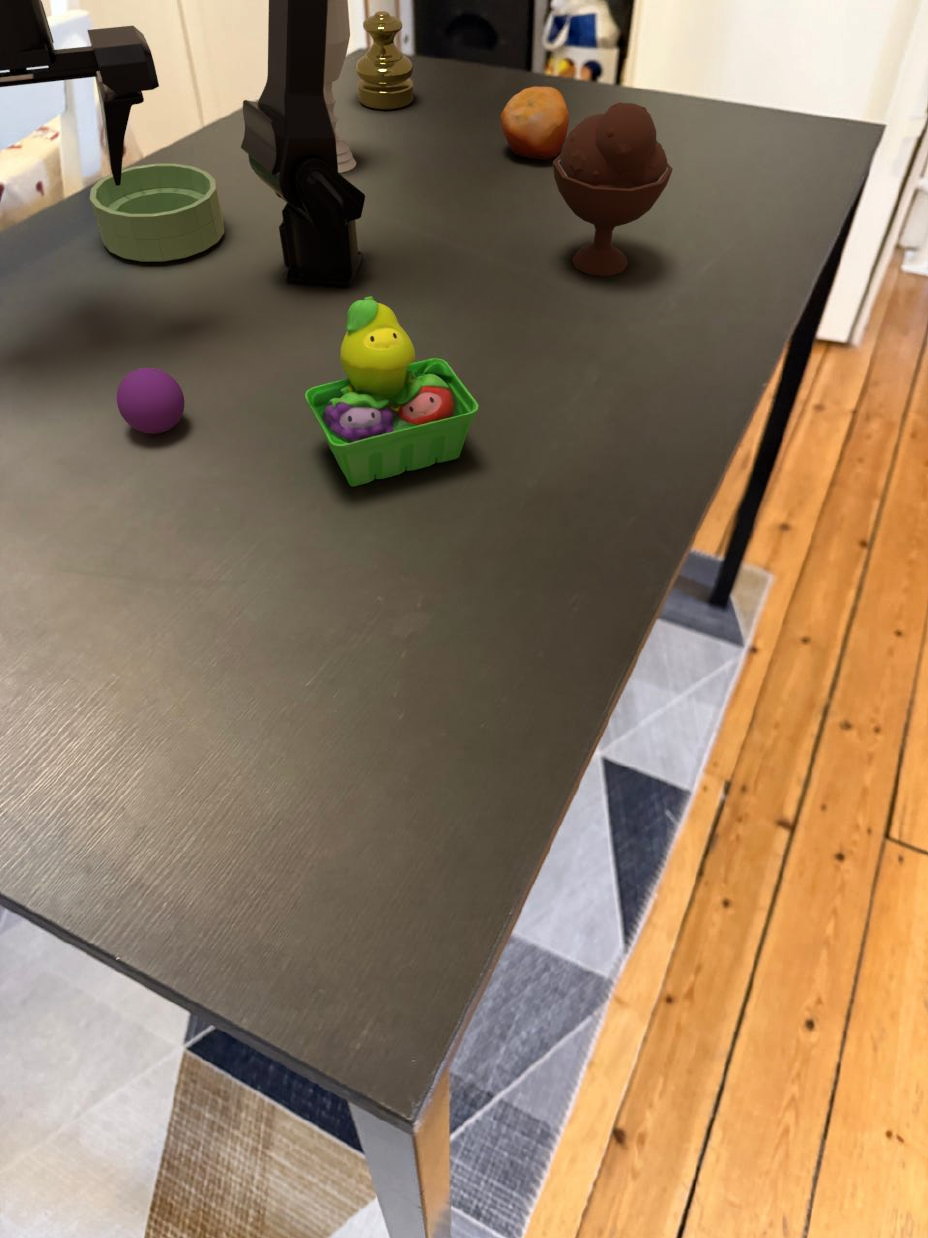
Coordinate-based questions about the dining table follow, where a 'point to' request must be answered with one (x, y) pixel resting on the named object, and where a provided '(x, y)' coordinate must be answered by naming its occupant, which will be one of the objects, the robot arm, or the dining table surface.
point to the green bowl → (158, 212)
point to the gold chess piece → (384, 66)
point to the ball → (150, 400)
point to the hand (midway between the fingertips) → (58, 191)
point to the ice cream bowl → (611, 178)
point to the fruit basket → (389, 401)
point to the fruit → (536, 122)
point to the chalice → (337, 70)
